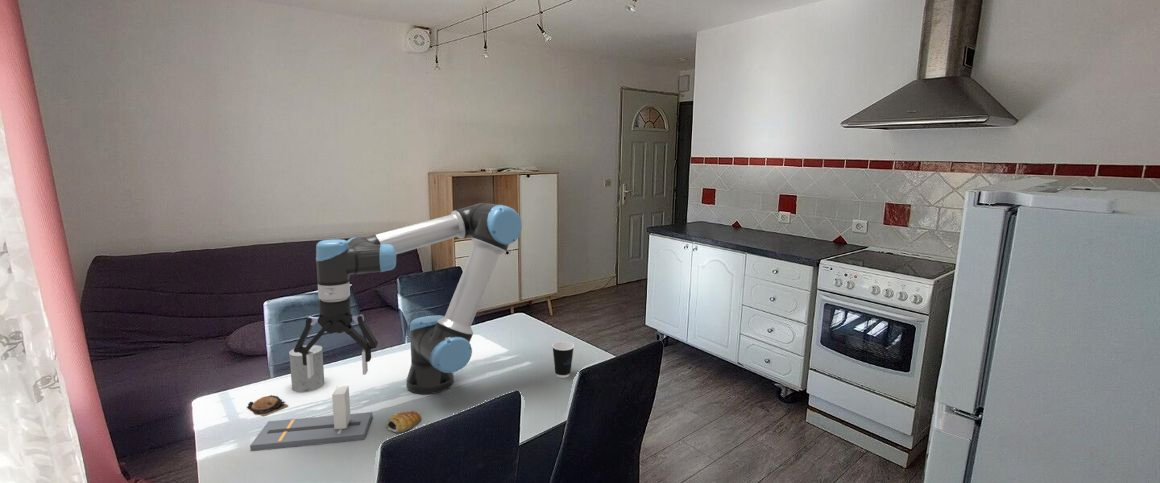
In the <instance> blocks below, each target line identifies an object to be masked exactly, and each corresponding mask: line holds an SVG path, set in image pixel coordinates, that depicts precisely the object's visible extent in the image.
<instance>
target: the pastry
mask: <svg viewBox="0 0 1160 483" xmlns="http://www.w3.org/2000/svg"><path fill="white" fill-rule="evenodd" d="M420 421H421V414H420V413H419V412H418V411H415V410H411V411H403V412H397V413H396V414H393V415H391V416H390V417H389V418H388V419H387V420H386V422H385V428H387V431H389V432H390V431H391V432H393V433H396V434H400V433H405V432H406V431H407V430H410V429H412V428H413V427H415V426H416V425H418V423H419V422H420Z"/></svg>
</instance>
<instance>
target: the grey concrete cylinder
mask: <svg viewBox="0 0 1160 483" xmlns="http://www.w3.org/2000/svg"><path fill="white" fill-rule="evenodd" d="M307 345H308V344H306V345H303V347H306V346H307ZM294 349H295V347H294V348H292V349H291V350H289V352H288V355H289V364H290V365H289V366H290V377H291V378H290V380H291V390H292V392H294V393H308V392H313V391H316V390H319V389H320V388H322V387H324V386H325V384H326V382H325V373H324V372H325V369H324V360H323V359H324V356H323V346H322V345H319V344H318V345H317V344H314V345H313V346H312V347H311V349H310V350H309V351H313V367H314V374H313V376H312V377H311V378H308V375H307V365H303V358H302V354H301V353H299V352H297V353H296V352H294Z"/></svg>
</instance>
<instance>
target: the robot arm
mask: <svg viewBox="0 0 1160 483" xmlns="http://www.w3.org/2000/svg"><path fill="white" fill-rule="evenodd" d="M522 225H523V224H522V219H521V217H520V215H519V213H518V211H516V210H515V209H514V208H512V207H510V206H507V205H504V204H496V203H490V202H479V203H476V204H473V205H472V204H471V205H469V206H466V207H463V208H459V209H454V210H453V211H451V213H450V214H448V215H445V216H440V217H436V218H434V219H428V220H426V221H422V222H418V223H414V224H410V225H406V226H403V227H399V228H395V229H391V230H388V231H387V230H386V231H384V232H381V233H376V234H373V235H372V234H371V235H368V236H365V237H364V236H363V237H361V236H360V237H359V236H355V237H351V238H349V239H348V240H346V239H341V238H339V239H337V238H336V239H335V238H334V239H323V240H320V241H318V242H317V243H316V245H315V246H316V247H315V251H316V253H315V256H316V257H315V261H316V275H317V294H318V299H319V301H318V316H317V317H316V316H315V317H314V315H309V316H307V318H306V319H305V327H304V328H303V330H302V332H301V335H300V337H299V339H298V340H297V343H296V345H295V346H294V348H295V349H294V348H293V349H294V352H296V353H297V352H299V353H301V354H302V358H303V365H307V375H308V378H311V377H312V376H313V374H314V367H313V351H309V350H310V349H311V347H312V346H313V345H316V343H317V342H318V341H319V340H320V338H321V337H322V336H323V335H324V334H325V333H328V334H336V333H337V334H342V333H345V334H346V335H348V336H349V337H350V338H352V340H354V341H355V343H357V344H358V346H360V347H361V348H362V351H361V359H362V360H361V361H362V362H361V364H362V365H361V366H362V375H367V373H368V370H369V369H368V363H369V362H371V360H372V350H373V349H376V348H378V347H377V346H378V344H379V342H378V341H377V338H376V336H375V334H373V332H372V330H371V329H370V327H369V325H368V324H367V323H366V321H365V320H366V319H365V315H364V313H359V314H358V315H353V314H352V311H351V309H352V307H351V306H352V305H351V304H352V303H351V298H350V296H351V290H350V289H351V285H350V275H351V276H352V275H362V274H370V273H380V272H381V273H383V272H387V271H388V272H389V271H392V270H394V269H395V268H396V266H397V255H398V254H403V253H406V252H409V251H412V250H413V251H414V250H416V249H420V248H423V247H427V246H431V245H433V244H437V243H440V242H444V241H447V240H451V239H454V238H458V239H460V240H461V239H465V238H471V241H472V243H473V247H472V249H471V252H470V254H469V257H468V259H467V261H466V263H465V266H464V267H463V268H464V269H463V271H462V273H461V276H460V278H459V281H458V283H457V285H456V288H455V290H454V292H453V296H452V298H451V300H450V302H449V305H448V307H447V310H446V312H445V314H444V315H439V314H438V315H428V316H427V315H426V316H421V317H416V318H414V319H413V320H411V322H410V325H409V326H410V327H409V336H410V338H409V339H410V360H411V361H410V363H411V364H410V367H409V370H408V374H407V376H406V388H407V390H408V391H409V392H411V393H413V394H420V395H429V394H436V393H440V392H444V391H445V390H446V391H447V390H448V389H449V388H451V387H452V386H453V384H454V377H455V375H454V373H456V372H459V371H460V370H462V369H463V368H465V366H467V364H468V363H469V362H470V360H471V358H472V354H473V347H472V345H471V343H470V342H471V340H472V338H473V335H474V332H473V329H472V324H473V321H474V319H475V317H476V315H477V312H478V310H479V307H480V304H481V302H482V300H483V297H484V295H485V292H486V289H487V288H488V285H489V283H490V279H491V277H492V275H493V272H494V270H495V267H496V265H497V263H498V260H499V257H500V256H501V255H503V254H505V253H507V252H508V251H507V250H508V248H509V246H510V245H511V244H512V243H514V242H516V241H518V239H519V238H520V236H521V233H522V228H523V226H522ZM352 322H355V324H358V328H360V330H361V332H362V334H363V335H364V336H365V338H364V337H363V336H362V335H361V333H360V332H358V331H357V330H356V329H355V328H354V326H353V324H351V323H352ZM317 323H318V324H319V325H320V327H321V329H320V330H319V331H318V332H317V334H316V335H314V337H312V339H311V340H310V341H309V342H308V343H307V344H306V345H307V346H306V345H305V346H306V347H303V346H304V344H305V342H306V340H307V338H308V336H309V334H310V332H311V330H312V328H313V326H315V325H316V324H317Z"/></svg>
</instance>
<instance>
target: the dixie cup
mask: <svg viewBox="0 0 1160 483" xmlns="http://www.w3.org/2000/svg"><path fill="white" fill-rule="evenodd" d="M551 347H552V353H553V354H552V355H553V364H554V372H555V376H556V377H557V378H560V379H561V378H563V379H564V378H565V379H566V378H568V377H569V376H570V374H571V370H572V363H573V356H574V348H575V344H574V343H573V342H570V341H563V340H562V341H556V342H554V343H552V344H551Z"/></svg>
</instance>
